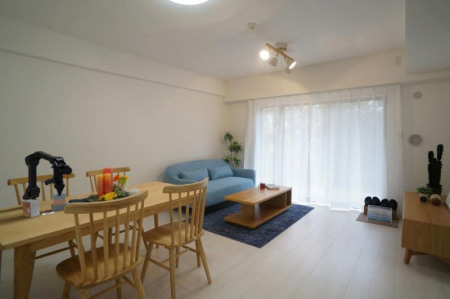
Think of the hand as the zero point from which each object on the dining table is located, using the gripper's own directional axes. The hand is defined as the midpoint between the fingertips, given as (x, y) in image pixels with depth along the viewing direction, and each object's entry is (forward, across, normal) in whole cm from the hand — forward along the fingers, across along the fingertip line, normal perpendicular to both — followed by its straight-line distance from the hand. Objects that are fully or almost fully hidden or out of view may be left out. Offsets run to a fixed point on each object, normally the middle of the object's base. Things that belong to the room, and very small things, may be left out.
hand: (59, 194), depth 169 cm
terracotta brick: (+7, 0, 0) cm, 7 cm away
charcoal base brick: (+11, 0, 0) cm, 11 cm away
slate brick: (+3, 0, 0) cm, 3 cm away
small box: (+11, +3, -16) cm, 20 cm away
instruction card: (+11, +5, -7) cm, 14 cm away
